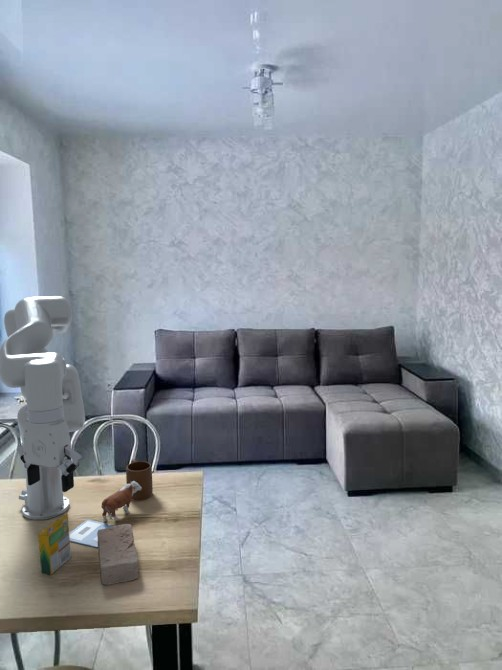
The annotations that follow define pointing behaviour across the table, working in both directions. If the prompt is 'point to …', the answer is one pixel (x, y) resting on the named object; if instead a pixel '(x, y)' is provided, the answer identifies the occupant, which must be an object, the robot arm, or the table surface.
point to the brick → (117, 554)
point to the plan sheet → (88, 533)
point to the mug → (140, 478)
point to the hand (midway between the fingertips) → (51, 486)
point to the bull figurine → (119, 500)
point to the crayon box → (54, 545)
